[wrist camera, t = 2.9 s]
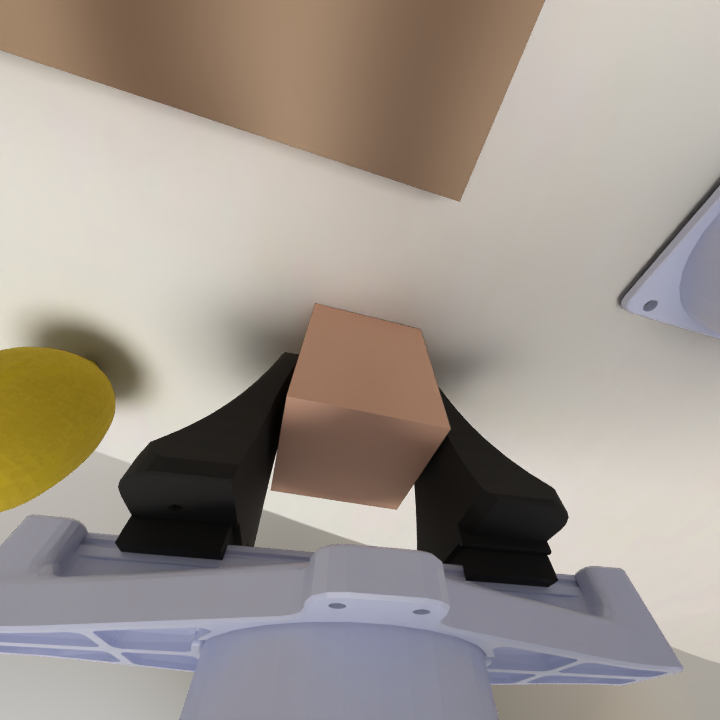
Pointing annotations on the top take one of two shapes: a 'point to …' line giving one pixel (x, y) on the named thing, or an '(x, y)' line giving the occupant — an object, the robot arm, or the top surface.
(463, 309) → the top surface
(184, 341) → the top surface
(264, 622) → the robot arm
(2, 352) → the lemon
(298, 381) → the cube
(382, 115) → the walnut block
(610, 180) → the top surface
